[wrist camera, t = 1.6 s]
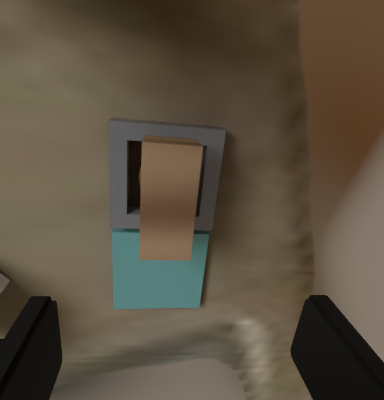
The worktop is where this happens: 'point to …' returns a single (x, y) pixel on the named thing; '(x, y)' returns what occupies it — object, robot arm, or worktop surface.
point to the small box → (3, 282)
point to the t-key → (168, 197)
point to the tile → (156, 274)
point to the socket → (137, 129)
